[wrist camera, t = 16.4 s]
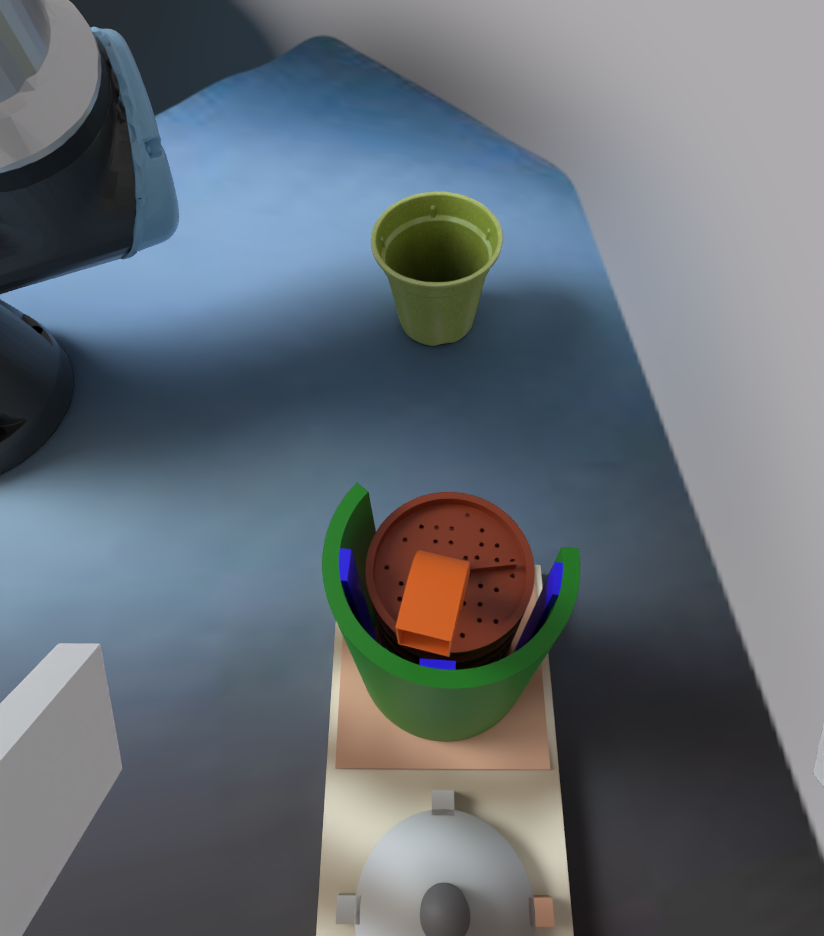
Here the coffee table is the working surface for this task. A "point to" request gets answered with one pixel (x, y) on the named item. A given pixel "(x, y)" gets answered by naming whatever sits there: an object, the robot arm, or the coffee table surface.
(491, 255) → the plant pot
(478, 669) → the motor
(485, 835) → the board
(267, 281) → the coffee table surface
